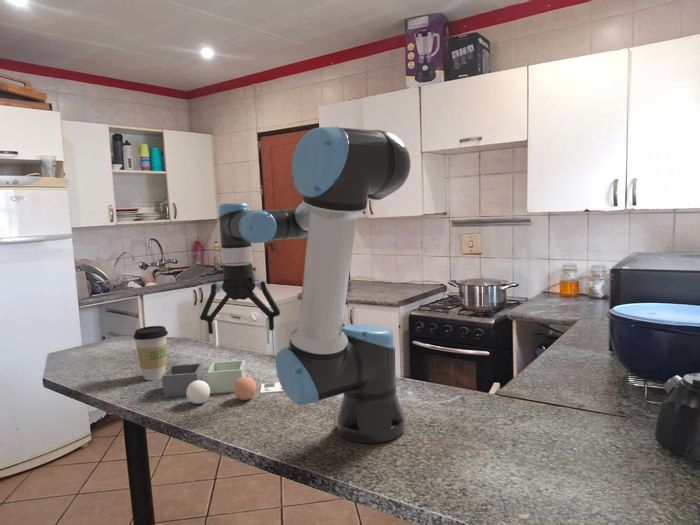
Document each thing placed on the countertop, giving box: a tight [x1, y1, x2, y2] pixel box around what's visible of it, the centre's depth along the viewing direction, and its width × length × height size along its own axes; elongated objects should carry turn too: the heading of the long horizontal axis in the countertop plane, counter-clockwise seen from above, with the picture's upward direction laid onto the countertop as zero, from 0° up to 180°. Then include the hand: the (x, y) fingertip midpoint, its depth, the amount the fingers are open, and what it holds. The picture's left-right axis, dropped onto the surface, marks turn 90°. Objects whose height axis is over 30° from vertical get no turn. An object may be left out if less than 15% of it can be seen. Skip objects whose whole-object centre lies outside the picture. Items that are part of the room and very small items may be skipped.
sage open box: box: [206, 359, 247, 394], centre depth 144 cm, size 9×9×6 cm
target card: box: [259, 381, 284, 394], centre depth 141 cm, size 7×9×1 cm
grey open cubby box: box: [161, 362, 205, 398], centre depth 142 cm, size 9×9×6 cm
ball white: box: [186, 380, 210, 405], centre depth 132 cm, size 6×6×6 cm
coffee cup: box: [133, 325, 169, 381], centre depth 154 cm, size 10×10×15 cm
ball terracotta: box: [233, 376, 257, 401], centre depth 133 cm, size 6×6×6 cm
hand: (242, 344), depth 132 cm, fingers open, 13 cm apart
